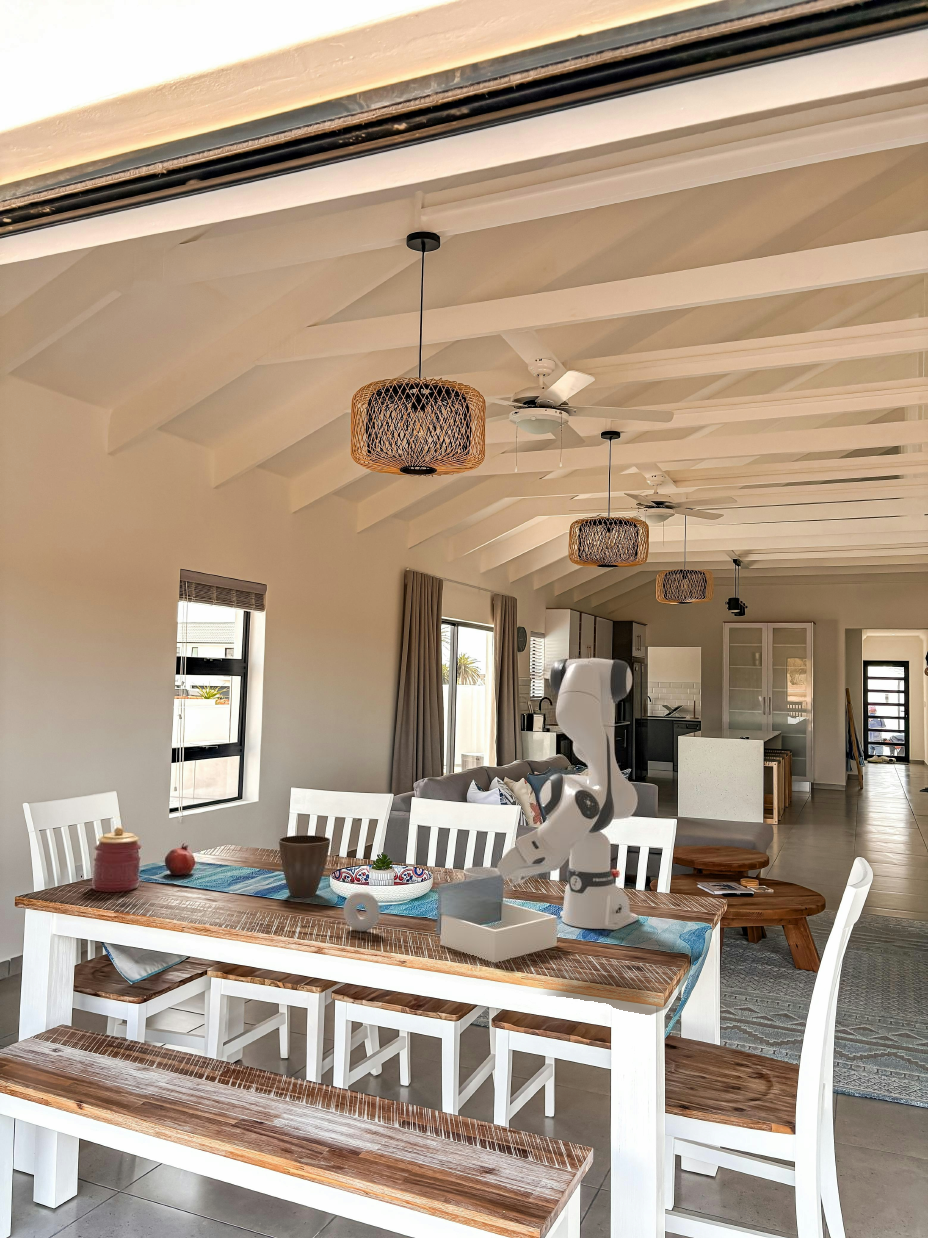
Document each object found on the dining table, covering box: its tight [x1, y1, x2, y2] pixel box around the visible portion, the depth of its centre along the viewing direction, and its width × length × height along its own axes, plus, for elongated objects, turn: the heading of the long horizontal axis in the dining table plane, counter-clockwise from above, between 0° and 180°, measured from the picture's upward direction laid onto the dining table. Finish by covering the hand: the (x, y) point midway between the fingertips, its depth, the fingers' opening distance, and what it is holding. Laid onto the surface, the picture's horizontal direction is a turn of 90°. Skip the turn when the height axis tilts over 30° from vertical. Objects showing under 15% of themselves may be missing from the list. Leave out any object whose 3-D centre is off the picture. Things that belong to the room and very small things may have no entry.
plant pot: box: [278, 834, 331, 898], centre depth 261 cm, size 15×15×16 cm
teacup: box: [463, 866, 515, 893], centre depth 253 cm, size 12×15×10 cm
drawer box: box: [440, 901, 558, 964], centre depth 216 cm, size 18×22×7 cm
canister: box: [91, 826, 142, 893], centre depth 262 cm, size 13×13×18 cm
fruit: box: [164, 843, 196, 877], centre depth 282 cm, size 9×10×10 cm
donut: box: [343, 890, 381, 932], centre depth 224 cm, size 10×4×10 cm, turn 67°
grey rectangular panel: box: [436, 874, 505, 936], centre depth 224 cm, size 2×22×12 cm, turn 134°
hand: (516, 881), depth 213 cm, fingers closed
